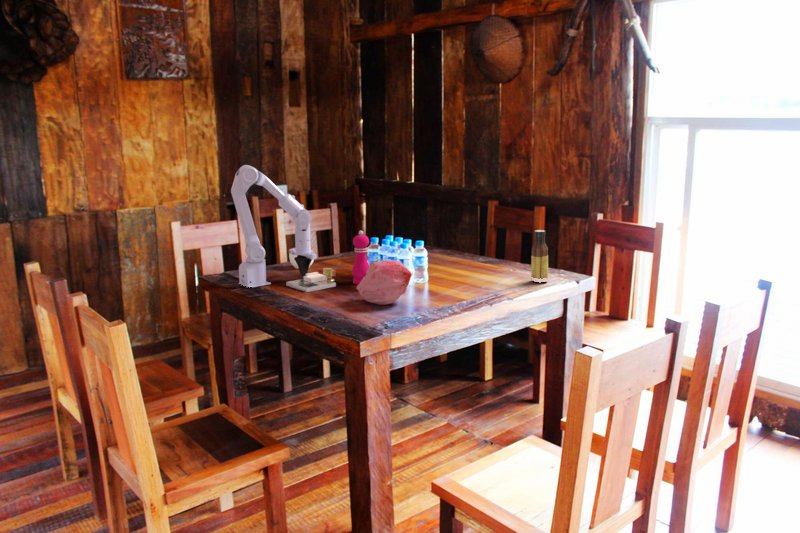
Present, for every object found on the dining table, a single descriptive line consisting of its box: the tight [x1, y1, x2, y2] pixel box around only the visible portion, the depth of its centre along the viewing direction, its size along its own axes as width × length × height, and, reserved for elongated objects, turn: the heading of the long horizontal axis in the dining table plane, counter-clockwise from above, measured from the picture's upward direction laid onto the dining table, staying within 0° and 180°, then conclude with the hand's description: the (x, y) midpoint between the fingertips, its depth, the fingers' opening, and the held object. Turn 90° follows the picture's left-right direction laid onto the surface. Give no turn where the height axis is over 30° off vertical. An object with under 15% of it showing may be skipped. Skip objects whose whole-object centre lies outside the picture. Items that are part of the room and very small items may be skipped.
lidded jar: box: [288, 247, 316, 270], centre depth 285 cm, size 11×11×9 cm
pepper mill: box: [351, 230, 370, 285], centre depth 257 cm, size 7×7×20 cm
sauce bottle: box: [530, 229, 549, 279], centre depth 260 cm, size 7×6×20 cm
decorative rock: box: [356, 259, 412, 306], centre depth 229 cm, size 19×14×15 cm
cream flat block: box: [303, 271, 327, 283], centre depth 256 cm, size 7×5×2 cm
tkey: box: [322, 267, 337, 282], centre depth 262 cm, size 6×4×5 cm, turn 42°
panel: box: [285, 278, 337, 293], centre depth 254 cm, size 13×13×2 cm
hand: (303, 275), depth 262 cm, fingers closed
